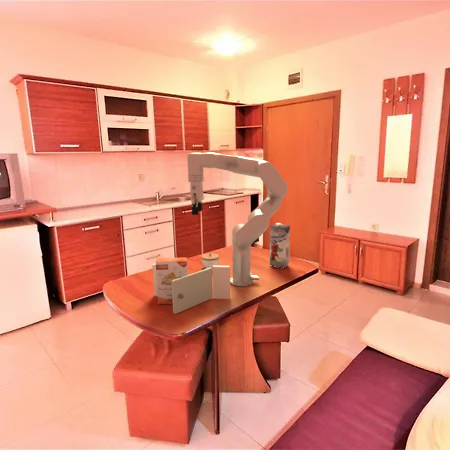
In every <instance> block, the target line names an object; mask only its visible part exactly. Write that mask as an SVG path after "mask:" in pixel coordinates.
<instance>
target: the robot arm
mask: <svg viewBox="0 0 450 450" xmlns="http://www.w3.org/2000/svg"><path fill="white" fill-rule="evenodd" d="M186 158H187V178H188V179H187V182H188V183H189V184H190V186H189V187H190V188H189V189H190V202H191V215H192V216H198V215H199V213H200V212H202V211H203V203H202V202H203V200H204V199H205V197H204V186H203V182H204V179H205V178H204V168H205V169H218V170H224V171H228V172H231V173H233V174H237V175H242V176H243V175H244V176H249V177H254V178H260V180H261V181H262V183H263V184H264V185H265V187H266V191H267V194H266V197H265V199H264V200H263V201H262V202H261V203H260V204H259V205H258V206H257V207H256V208H255V209H253V211H251V212H250V213H249V214H248V217H247V221H246V223H237V224H236V225H234V226H233V227H232V230H231V243H232V244H231V245H232V246H231V247H232V277H230V285H232V286H236V287H248V285H249V286H251V285H253V283H254V281H259V280H260V276H257V275H256V274H254V275H253V274H252V272H251V264H252V263H251V251H252V250H251V249H252V248H251V247H252V246H251V245H252V244H254V242H255V241H257V240H258V239H259V238H260V237H261V236H262V235H264V233H265V232H266V231H267V229H268V228H269V226H270V219H271V218H272V217H273V215H275V214H276V213H277V212H278V210H279V209H280V208H281V206H282V204H283V200H284V197H285V196H287V193H288V191H289V188H288V187H289V186H288V184H287V183H286V181H285V179H283V177H282V176H281V174H280V173H279V171H278V170H277V169H276V166H274V164H273V163H271V162H270V161H267V160H263V159H256V158H251V157H246V156H239V155H227V154H222V153H216V152H212V151H210V152H203V153H202V152H190V153H188V154H187V157H186Z"/></svg>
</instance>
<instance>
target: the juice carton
mask: <svg viewBox="0 0 450 450" xmlns="http://www.w3.org/2000/svg"><path fill="white" fill-rule="evenodd" d="M269 226H270V231H269V232H270V234H269V239H270V240H269V266H270V265H272V266H276V267H279V268H283V267H285V266H288V267H289V264H290V247H291V246H290V245H291V242H290V241H291V225H289V224H282V223H281V222H276V223H273V224H271V225H269ZM272 266H271V267H272ZM276 267H275V268H276ZM279 268H278V269H279ZM285 268H286V267H285ZM283 269H284V268H283Z"/></svg>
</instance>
